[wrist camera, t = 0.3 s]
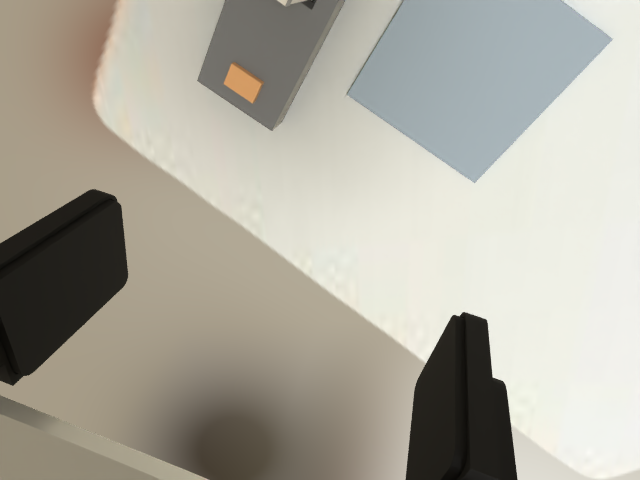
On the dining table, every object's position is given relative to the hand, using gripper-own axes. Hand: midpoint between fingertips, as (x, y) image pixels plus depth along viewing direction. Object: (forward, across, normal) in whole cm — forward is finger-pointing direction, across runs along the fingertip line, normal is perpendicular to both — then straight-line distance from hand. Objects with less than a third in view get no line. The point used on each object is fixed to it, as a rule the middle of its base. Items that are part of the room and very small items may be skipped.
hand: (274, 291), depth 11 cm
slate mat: (+29, -5, -2) cm, 30 cm away
